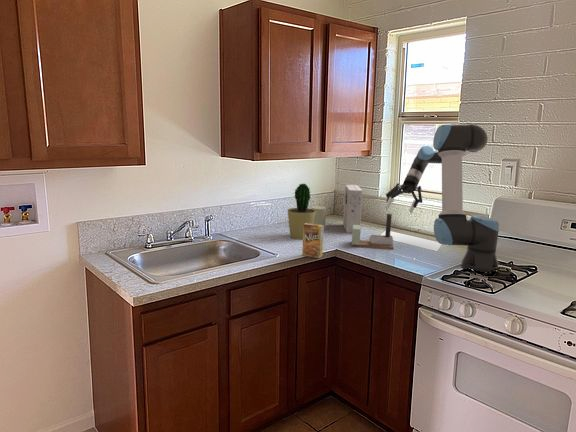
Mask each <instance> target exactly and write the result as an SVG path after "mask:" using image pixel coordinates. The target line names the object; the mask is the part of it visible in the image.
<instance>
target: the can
mask: <svg viewBox="0 0 576 432" xmlns="http://www.w3.org/2000/svg"><path fill="white" fill-rule="evenodd" d="M310 209H314V210H316V212H315V218H314V223H313V224H320V225H324V228H326V219H327V218H326V217H327V207H326V206H322V205H313V206H311V208H310Z"/></svg>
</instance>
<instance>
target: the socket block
mask: <svg viewBox="0 0 576 432" xmlns="http://www.w3.org/2000/svg"><path fill="white" fill-rule="evenodd" d="M361 226H362V225H361V224H360V225H353V232H352V233H351V234H352V236H351V245H352V244H356V245H360V240H361V231H362V230H361V229H362V227H361Z"/></svg>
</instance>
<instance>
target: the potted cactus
mask: <svg viewBox="0 0 576 432" xmlns="http://www.w3.org/2000/svg"><path fill="white" fill-rule="evenodd" d="M310 190H311V187H309V186H308V185H307V183H302V182H301V183H300V184H298V185H297V186H296V188H295V189H294V197H293V199H295V203H296V207H291V208H288V209H287V217H288V225H289V226H288V227H289V235H290V238H291V239H295V240H303V227H304V224H305V223H311V224H313V223H314V218H315V212H316V210H314V209H311V208H310V207H309V203H310V201H312V199H311V191H310ZM295 203H294V204H295Z"/></svg>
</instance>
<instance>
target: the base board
mask: <svg viewBox="0 0 576 432" xmlns="http://www.w3.org/2000/svg"><path fill="white" fill-rule="evenodd" d="M351 247H352V248H353V247H354V248H368V249H369V248H370V249H382V250H394V244H393V242H392V245H378V244H370V242H369V239H368V240H365V239H360V245H356V244H352V243H351Z"/></svg>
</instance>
